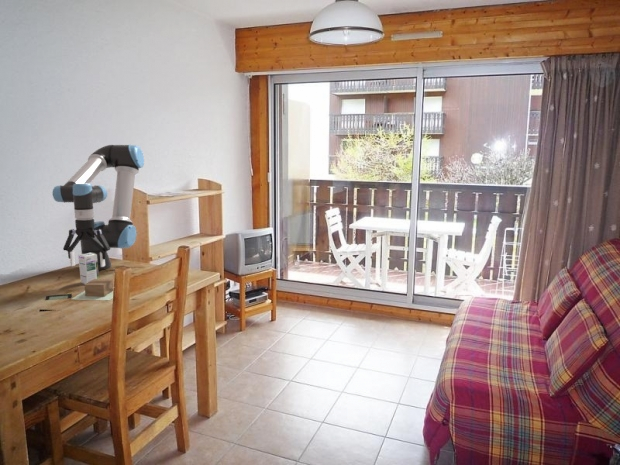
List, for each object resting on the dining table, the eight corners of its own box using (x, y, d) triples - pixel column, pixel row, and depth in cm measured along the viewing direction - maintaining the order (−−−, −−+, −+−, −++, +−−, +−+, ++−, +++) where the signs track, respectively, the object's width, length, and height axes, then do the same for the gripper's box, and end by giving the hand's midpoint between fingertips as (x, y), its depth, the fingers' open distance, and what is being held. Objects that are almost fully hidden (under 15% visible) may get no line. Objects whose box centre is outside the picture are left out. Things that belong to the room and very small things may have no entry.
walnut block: (95, 290, 204) (94, 278, 203) (113, 290, 203) (112, 279, 202) (85, 296, 196) (84, 284, 195) (104, 296, 196) (103, 284, 195)
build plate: (91, 290, 208) (90, 287, 208) (127, 291, 207) (126, 288, 207) (70, 302, 193) (70, 299, 192) (109, 303, 192) (109, 300, 191)
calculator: (39, 312, 183) (38, 304, 182) (47, 302, 194) (46, 295, 193) (66, 310, 185) (65, 302, 185) (72, 300, 196) (71, 293, 196)
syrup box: (87, 288, 211) (84, 256, 209) (80, 285, 215) (77, 254, 212) (99, 285, 216) (97, 253, 213) (92, 282, 219) (90, 251, 217)
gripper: (51, 219, 207) (56, 267, 210) (108, 220, 205) (111, 268, 209) (61, 217, 214) (65, 263, 218) (116, 217, 213) (119, 264, 216)
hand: (88, 266), depth 213 cm, fingers open, 13 cm apart
